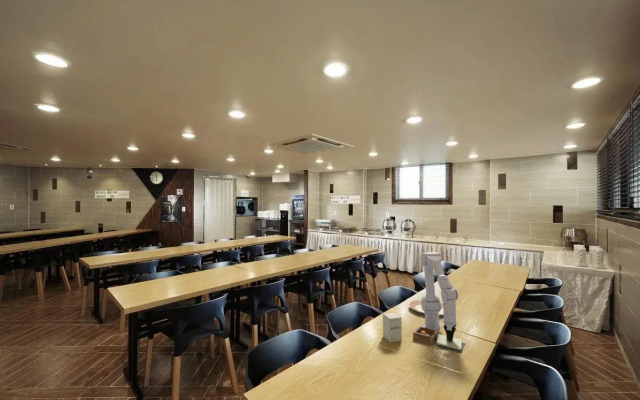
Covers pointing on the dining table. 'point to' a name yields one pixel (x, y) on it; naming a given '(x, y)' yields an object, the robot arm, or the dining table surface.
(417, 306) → the dinner plate
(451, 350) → the mat
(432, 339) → the box
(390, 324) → the supplement box
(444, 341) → the lid
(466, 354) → the dining table surface
